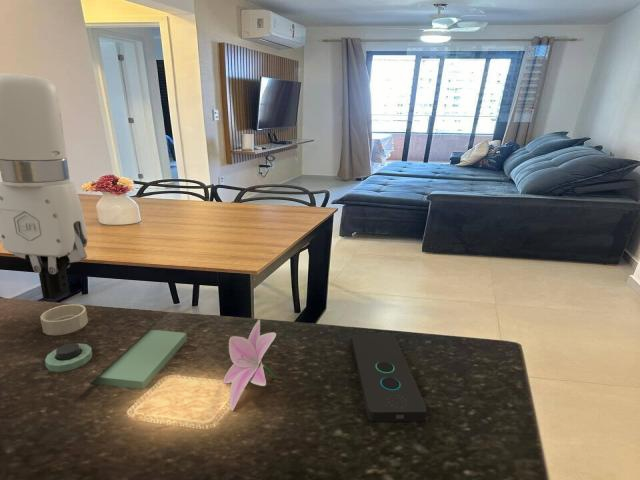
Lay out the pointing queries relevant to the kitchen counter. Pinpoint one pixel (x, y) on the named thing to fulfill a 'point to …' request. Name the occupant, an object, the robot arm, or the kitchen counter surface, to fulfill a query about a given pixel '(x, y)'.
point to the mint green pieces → (128, 360)
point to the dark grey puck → (68, 351)
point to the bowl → (64, 319)
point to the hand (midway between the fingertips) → (56, 295)
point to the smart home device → (386, 380)
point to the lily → (247, 362)
